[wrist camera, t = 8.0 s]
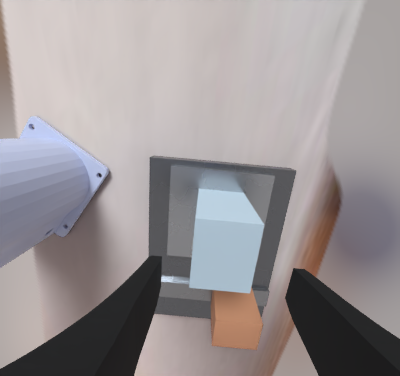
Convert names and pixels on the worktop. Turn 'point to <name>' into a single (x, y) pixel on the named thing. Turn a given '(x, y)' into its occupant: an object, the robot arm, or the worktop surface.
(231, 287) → the housing block
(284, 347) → the worktop surface
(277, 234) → the base
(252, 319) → the lever
